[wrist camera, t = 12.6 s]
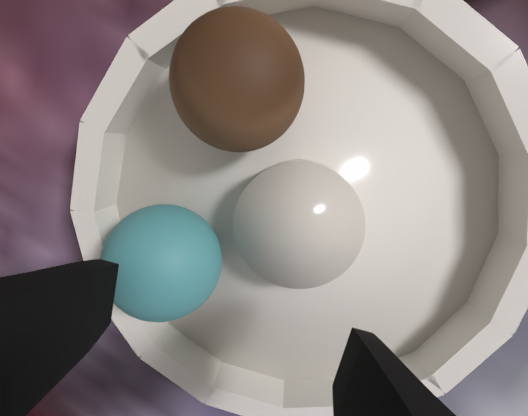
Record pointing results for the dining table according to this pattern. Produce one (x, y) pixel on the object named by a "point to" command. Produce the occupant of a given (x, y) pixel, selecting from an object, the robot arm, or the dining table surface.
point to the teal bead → (163, 262)
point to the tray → (399, 161)
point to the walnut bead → (236, 79)
